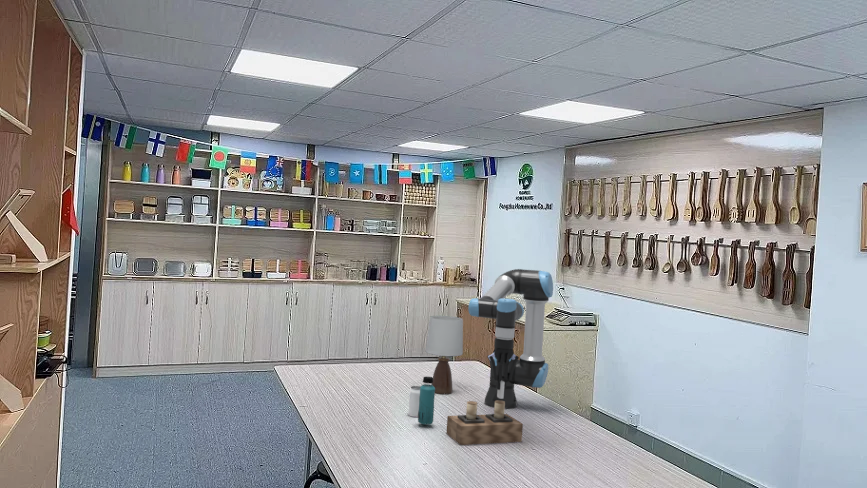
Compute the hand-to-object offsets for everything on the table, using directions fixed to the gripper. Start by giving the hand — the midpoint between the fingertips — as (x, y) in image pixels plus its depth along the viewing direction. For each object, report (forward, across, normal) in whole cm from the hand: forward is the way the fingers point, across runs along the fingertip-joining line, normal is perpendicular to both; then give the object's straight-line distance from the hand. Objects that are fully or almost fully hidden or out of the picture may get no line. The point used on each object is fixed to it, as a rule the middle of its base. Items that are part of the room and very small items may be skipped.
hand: (500, 397), depth 258 cm
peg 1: (+9, +12, 0) cm, 15 cm away
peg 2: (+9, 0, 0) cm, 9 cm away
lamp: (+16, -4, -72) cm, 74 cm away
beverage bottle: (+16, +24, -18) cm, 34 cm away
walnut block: (+16, +6, 0) cm, 17 cm away
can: (+16, +23, -33) cm, 43 cm away
